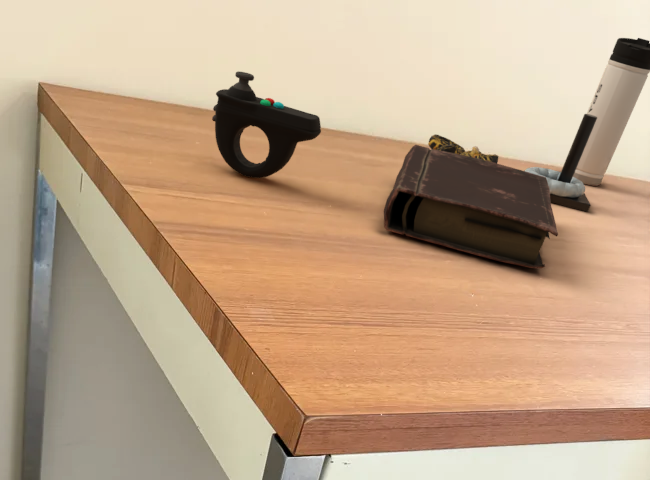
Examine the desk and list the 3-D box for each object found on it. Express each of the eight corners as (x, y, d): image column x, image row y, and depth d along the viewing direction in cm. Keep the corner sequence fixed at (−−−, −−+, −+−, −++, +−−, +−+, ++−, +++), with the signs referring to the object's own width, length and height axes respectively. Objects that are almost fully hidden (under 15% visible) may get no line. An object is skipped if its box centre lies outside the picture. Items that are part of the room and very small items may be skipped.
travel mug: (603, 183, 135) (665, 44, 123) (595, 188, 130) (657, 44, 118) (567, 171, 137) (624, 33, 125) (557, 175, 132) (615, 33, 120)
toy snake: (439, 113, 126) (500, 136, 126) (426, 144, 129) (487, 166, 128) (431, 138, 112) (500, 163, 112) (417, 172, 115) (485, 197, 115)
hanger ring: (577, 189, 122) (582, 176, 121) (584, 203, 115) (590, 190, 114) (519, 174, 122) (524, 161, 121) (523, 187, 115) (528, 174, 114)
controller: (213, 159, 98) (228, 65, 92) (310, 189, 96) (332, 95, 90) (199, 165, 95) (214, 68, 89) (300, 196, 93) (322, 99, 87)
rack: (580, 198, 122) (615, 118, 116) (587, 212, 116) (624, 128, 109) (528, 184, 123) (559, 103, 116) (532, 197, 116) (565, 112, 110)
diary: (377, 230, 88) (391, 182, 85) (397, 180, 108) (409, 139, 105) (548, 278, 87) (568, 230, 84) (536, 218, 107) (553, 178, 104)
